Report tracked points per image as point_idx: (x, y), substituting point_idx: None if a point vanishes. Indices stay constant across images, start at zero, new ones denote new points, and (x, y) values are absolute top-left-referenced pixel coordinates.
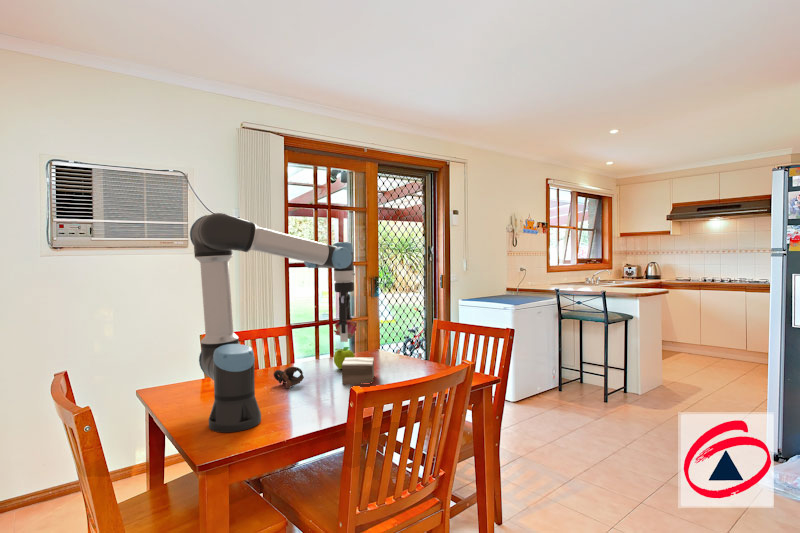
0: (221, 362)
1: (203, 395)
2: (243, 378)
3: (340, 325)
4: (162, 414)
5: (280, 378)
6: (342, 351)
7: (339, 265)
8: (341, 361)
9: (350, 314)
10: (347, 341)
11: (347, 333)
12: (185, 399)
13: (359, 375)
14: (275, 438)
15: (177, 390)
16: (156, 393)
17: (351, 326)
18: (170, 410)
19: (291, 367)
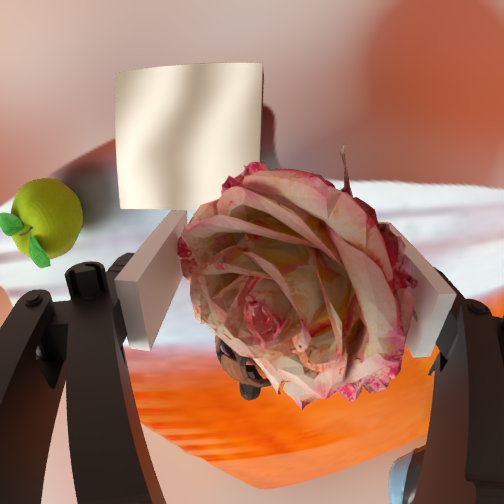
0: None
1: (307, 447)
2: None
3: (428, 348)
4: (387, 449)
5: (260, 376)
6: (43, 234)
7: None
8: (78, 223)
9: (15, 309)
10: (390, 223)
11: (407, 248)
12: (324, 455)
13: (261, 125)
14: None
15: (270, 471)
16: (282, 480)
17: (391, 235)
18: (373, 450)
19: (248, 376)
